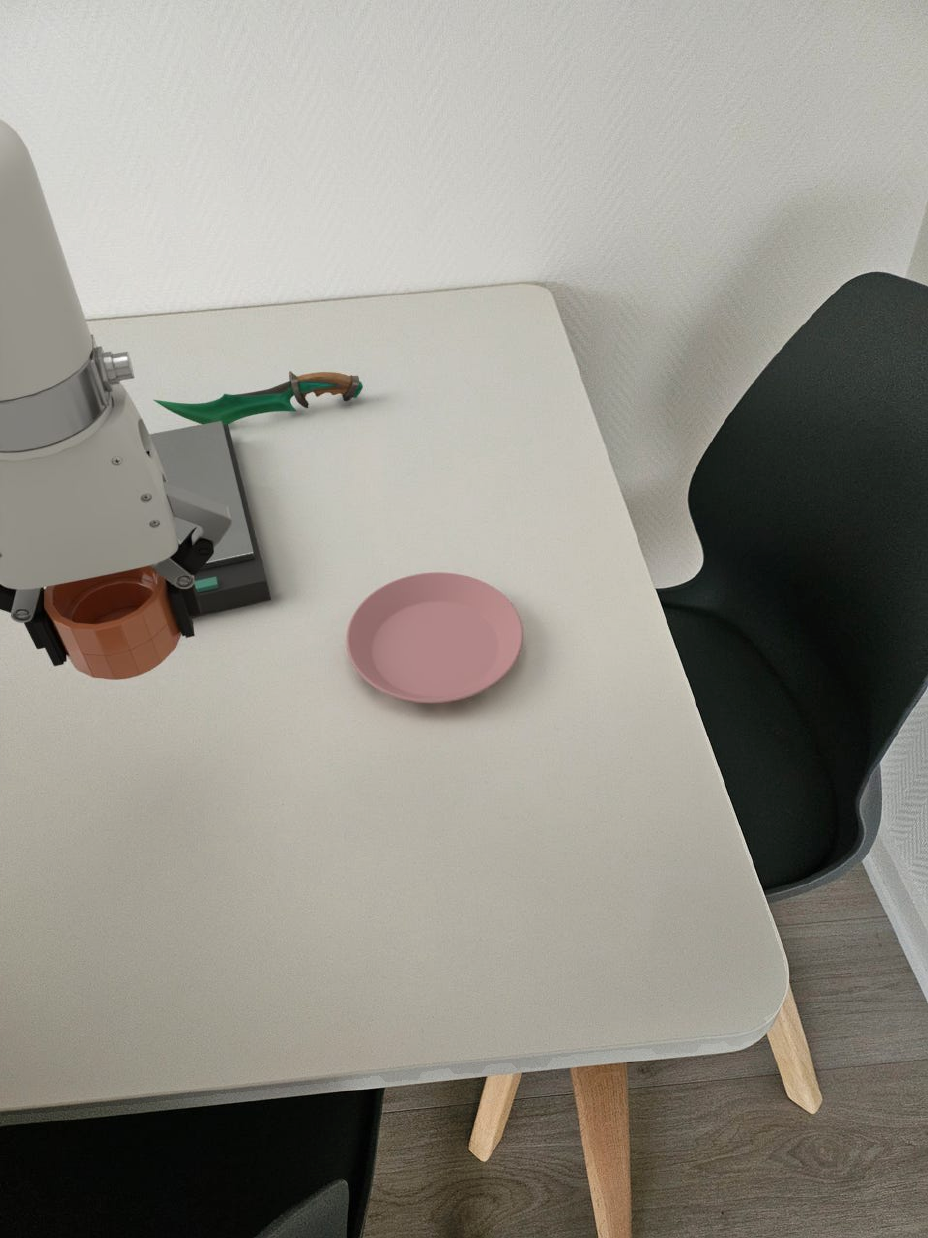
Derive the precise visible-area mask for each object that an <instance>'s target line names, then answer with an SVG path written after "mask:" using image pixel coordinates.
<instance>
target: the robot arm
mask: <svg viewBox="0 0 928 1238" xmlns="http://www.w3.org/2000/svg"><path fill="white" fill-rule="evenodd" d="M46 199H47V198H46V197H45V194H44V190H43V187H42V184H41V181H40V177H39V175H38V172H37V168H36V166H35V164H34V161H33V158H32V156H31V153H30V151H29V149H28V147H27V145H26V144H25V141H24V140H23V139H22V137H21V136H20V134H19V133H18V132H17V131H16V130H15V129H14V128H12V127H11V125H9V124H8V123H7V122H5V121H4V120H3V119H1V118H0V610H1V611H3V612H6V613H9V614H10V617H11V619H12V620H13V621H14V622H16V623H22V624H24V626H25V628H26V631H27V632H28V634H29V636H30V638H31V640H32V642H33V644H34V646H35V648H36V649H37V650H41V649H45V651H46V653H47V655H48V657H49V659H50V661H51V664H52V665H53V667H58V666H63V665H64V664H65V663H66V662H67V660H68V659H67V658H68V657H67V655H66V653H65V650H64V648H63V646H62V644H61V642H60V640H59V638H58V636H57V633H56V632H55V630H54V628H53V625H52V623H51V621H50V619H49V617H48V615H47V613H46V611H45V609H44V591H45V589H46V587H47V586H52V585H58V584H63V583H68V582H73V581H78V580H83V579H88V578H93V577H98V576H103V575H108V574H113V573H117V572H122V571H127V570H131V569H136V568H140V567H145V566H150V567H151V568H152V569H154V570H155V571H156V572H157V573H159V574H160V575H161V576H163V577H164V578H165V579H166V580H167V586H168V595H169V599H170V602H171V605H172V608H173V610H174V613H175V616H176V619H177V622H178V625H179V628H180V631H181V637H185V638H186V639H188V638H193V637H195V636H196V634H195V628H194V620H193V617H192V616H196V617H198V616H197V615H201V614H202V612H201V605H200V601H199V597H198V593H197V590H196V587H195V584H194V582H195V579H194V576H195V575H196V574H197V573H198V572H199V571H200V569H201V568H202V567H203V566H204V565H205V564H206V562H207V561H208V560H209V559H210V558H211V556H212V555H213V553H214V548H215V546H216V545H217V543H218V544H219V542H220V541H221V539H222V538H223V536H224V535H225V533H226V532H227V531H228V529H229V528H230V526H231V524H232V522H231V516H230V511H229V507H228V506H227V505H225V504H223V503H220V502H218V501H215V500H212V499H210V498H207V497H204V496H202V495H199V494H196V493H194V492H191V491H188V490H186V489H183V488H180V487H178V486H175V485H172V484H170V483H168V481H167V478H166V476H165V473H164V470H163V468H162V465H161V462H160V460H159V457H158V454H157V452H156V449H155V447H154V444H153V442H152V440H151V437H150V435H149V434H150V433H149V430H148V429H147V426H146V424H145V422H144V420H143V418H142V416H141V414H140V412H139V410H138V408H137V406H136V404H135V403H134V401H133V399H132V397H131V395H130V394H129V392H128V390H127V389H126V388H125V386H124V385H123V384H122V383H121V381H126V380H133V379H135V373H134V367H133V364H132V361H131V357H130V353H129V352H128V351H123V352H116V353H113V351H106V352H105V351H104V348H103V347H102V346H101V345H100V346H98V345H97V342H96V339H95V337H94V334H91V332H90V329H89V326H88V323H87V319H86V316H85V314H84V311H83V307H82V305H81V302H80V299H79V296H78V293H77V289H76V287H75V283H74V281H73V278H72V274H71V271H70V269H69V266H68V262H67V259H66V257H65V254H64V251H63V247H62V245H61V241H60V239H59V237H58V236H59V235H58V233H57V230H56V227H55V224H54V220H53V217H52V214H51V210H50V208H49V205H48V202H47V200H46ZM174 517H177V518H180V519H183V520H186V521H188V522H191V523H194V524H197V525H198V526H197V527H196V528H194V529H193V530H192V531H191V532H190V533H189V534H188V536H187V537H186V538H185V539H184V541H183V542H182V541H181V540H179V539H178V538H177V530H176V525H175V520H174ZM201 616H202V615H201Z"/></svg>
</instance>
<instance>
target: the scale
mask: <svg viewBox="0 0 928 1238" xmlns="http://www.w3.org/2000/svg"><path fill="white" fill-rule="evenodd" d="M149 435H150V437H151V440H152V442H153V444H154V447H155V449H156V452H157V454H158V457H159V460H160V462H161V465H162V468H163V470H164V473H165V476H166V478H167V481H168V483H170V484H172V485H175V486H178V487H180V488H183V489H186V490H188V491H191V492H194V493H196V494H199V495H202V496H204V497H207V498H210V499H212V500H215V501H218V502H220V503H223V504H225V505H227V506H228V507H229V511H230V516H231V522H232V524H231V526H230V528H229V529H228V531H227V532H226V533H225V535H224V536H223V538H222V539H221V541H220V542H219V544H218V543H217V545H216V546H215V548H214V553H213V555H212V556H211V558H210V559H209V560H208V561H207V562H206V564H205V565H204V566H203V567H202V568H201V569H200V571H199V572H198V573H197V574H196V575H195V576H194V579H195V582H194V584H195V587H196V590H197V593H198V597H199V601H200V605H201V612H202V614H201V615H197V616H192V618H196V617H201V616H204V615H210V614H215V613H219V612H223V611H227V610H231V609H237V608H241V607H245V606H249V605H254V604H259V603H263V602H268V601H271V599H272V598H271V593H270V589H269V585H268V580H267V575H266V573H265V568H264V564H263V560H262V556H261V552H260V548H259V544H258V539H257V536H256V532H255V529H254V528H255V527H254V525H253V520H252V515H251V511H250V507H249V503H248V499H247V496H246V491H245V487H244V482H243V479H242V475H241V471H240V467H239V462H238V459H237V454H236V450H235V446H234V442H233V439H232V435H231V430H230V425H229V424H223V423H222V421H218V422H212V423H207V424H197V425H191V426H186V427H182V428H176V429H175V428H174V429H170V430H165V431H160V432H154V433H149ZM174 520H175V525H176V530H177V538H178V539H179V540H181V541H182V542H183V541H184V539H185V538H186V537H187V536H188V534H189V533H190V532H191V531H192V530H193V529H194V528H196V527H197V526H198V525H197V524H194V523H191V522H188V521H186V520H183V519H180V518H177V517H174Z"/></svg>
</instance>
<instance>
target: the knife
mask: <svg viewBox="0 0 928 1238" xmlns="http://www.w3.org/2000/svg"><path fill="white" fill-rule="evenodd" d="M288 379H289V380H288V381H285V382H283V383H280V384H278V385H275V386H273V387H270V388H266V389H263V390H262V389H261V390H257V391H250V392H245V393H238V394H231V393H224V394H223V395H222V396H221V397H219V398H216V399H214V400H211V401H208V402H199V403H187V402H186V403H185V402H175V401H174V402H173V401H165V400H159V399H153V401H154V402H155V403H157V404H158V405H160V406H162V407H163V408H164V409H167V411H170V412H171V413H174V414H176V415H177V416H180V417H181V418H184V419H187V420H189V421H191V422H195V423H196V424H198V425H202V424H207V423H212V422H218V421H222V423H223V424H228V425H230V424H232V423H234V422H237V421H239V420H241V419H244V418H247V417H251V416H256V415H261V414H268V413H274V412H294V413H295V412H298V410H297V409H296V408H295V407H294V406H293V404H292V402H291V399H292V398H293V397H294V398H295V400H296V402H297V403H298V404H299V405H300V406H301V407H303V408H304V409H309V405H310V403H309V401H308V400H307V398H306V396H307V395H309V394H311V393H313V394H314V395H315V397H317V398H318V397H320V396H321V395H324V394H327V393H328V394H330V395H332V396H336V395H341V397H342V400H343V402H349V401H350V400H351V399H357V398H358V396H359V395H360V394H361V392H362V390H363V388H364V385H363V383H362V381H360V377H359V376H358V375H352V374H350V375H347V374H344V373H341V372H333V371H319V372H317V371H316V372H309V373H305V374H301V375H298V376H297V375H296V374H295V373H293V372H292V371H291V370H290V371H289V372H288Z"/></svg>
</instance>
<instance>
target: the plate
mask: <svg viewBox="0 0 928 1238" xmlns="http://www.w3.org/2000/svg"><path fill="white" fill-rule="evenodd" d="M523 640H524V630H523V624H522V620H521V617H520V614H519V612H518V611H517V609H516V607H515V606H514V605H513V604H512V602H511V601H510V599H508V597H506V596H505V595H504V593H502V592H501V591H500V590H498V589H496V588H495V587H494V586H492V585H490V584H488V583H487V582H484V581H482V580H480V579H477V578H475V577H473V576H472V577H471V576H468V575H465V574H460V573H454V572H443V571H442V572H440V571H439V572H438V571H437V572H422V573H416V574H412V575H407V576H404V577H401V578H398V579H396V580H393V581H390V582H389V583H386V584H385V585H383V586H380V587H379V588H378V589H376V590H375V591H374V592H372V593H371V594H370V595H369V596H367V597H366V598H365V599H364V600H363V601H362V602H361V603H360V604H359V605H358V607H357V608H356V610H355V611H354V613H353V615H352V616H351V618H350V621H349V623H348V627H347V631H346V649H347V650H346V651H347V654H348V657H349V660H350V662H351V664H352V666H353V667H354V669H355V671H357V673H358V675H360V677H362V679H363V680H364V681H366V682H367V683H368V684H369V685H370V686H372V687H374V689H376V690H377V691H380V692H382V693H383V694H385V695H388V696H391V697H393V698H396V699H400V700H402V701H407V702H413V703H420V704H442V703H443V704H444V703H451V702H456V701H461V700H464V699H467V698H470V697H473V696H475V695H478V694H480V693H483V692H485V691H486V690H488V689H490V688H491V687H492V686H494V685H495V684H498V682H500V681H501V680H502V679H503V678H504V677H506V675H507V674H508V673H509V672H510V671H511V669H512V668H513V666H514V665H515V663H516V662H517V660H518V658H519V656H520V654H521V650H522V647H523V642H524V641H523Z"/></svg>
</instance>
